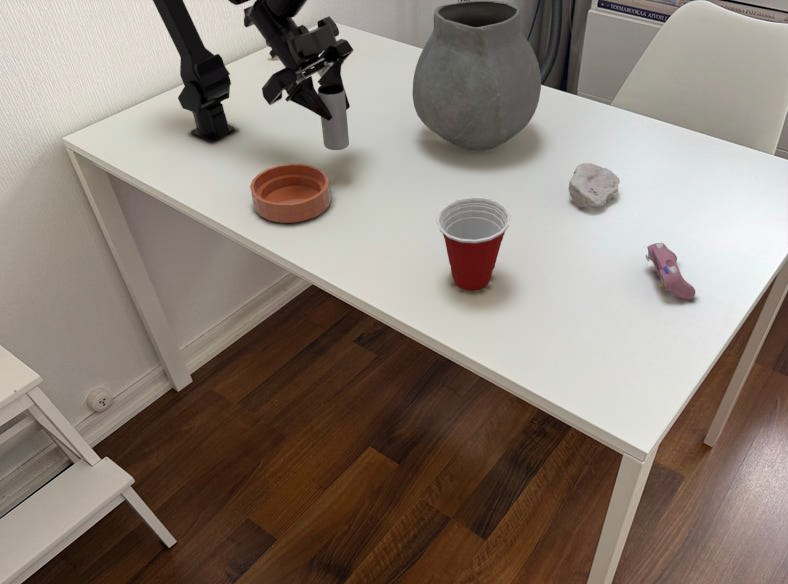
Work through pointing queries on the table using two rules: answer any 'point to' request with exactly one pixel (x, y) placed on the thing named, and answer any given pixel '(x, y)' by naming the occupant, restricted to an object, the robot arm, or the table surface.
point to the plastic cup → (473, 238)
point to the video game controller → (669, 271)
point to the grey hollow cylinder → (334, 116)
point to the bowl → (290, 193)
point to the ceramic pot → (476, 75)
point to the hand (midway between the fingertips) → (339, 113)
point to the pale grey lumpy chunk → (592, 185)
